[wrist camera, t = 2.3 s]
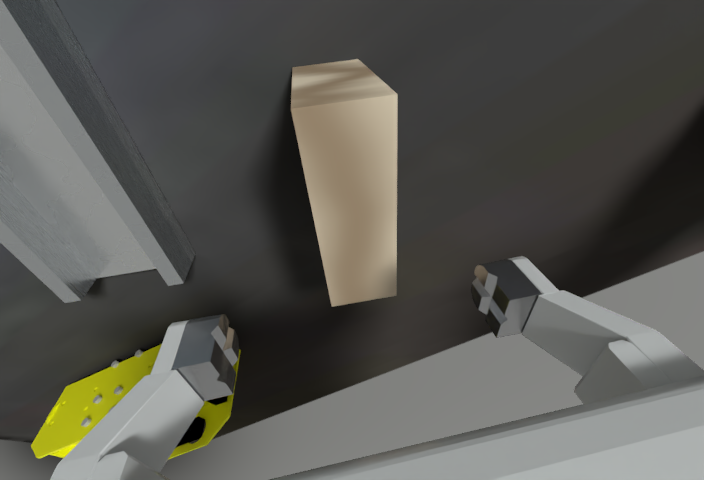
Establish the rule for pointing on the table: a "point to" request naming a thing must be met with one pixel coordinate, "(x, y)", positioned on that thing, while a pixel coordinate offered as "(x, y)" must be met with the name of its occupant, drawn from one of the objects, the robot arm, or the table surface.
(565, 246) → the table surface
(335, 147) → the tan rectangular block
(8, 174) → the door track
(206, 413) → the yellow toy chassis
